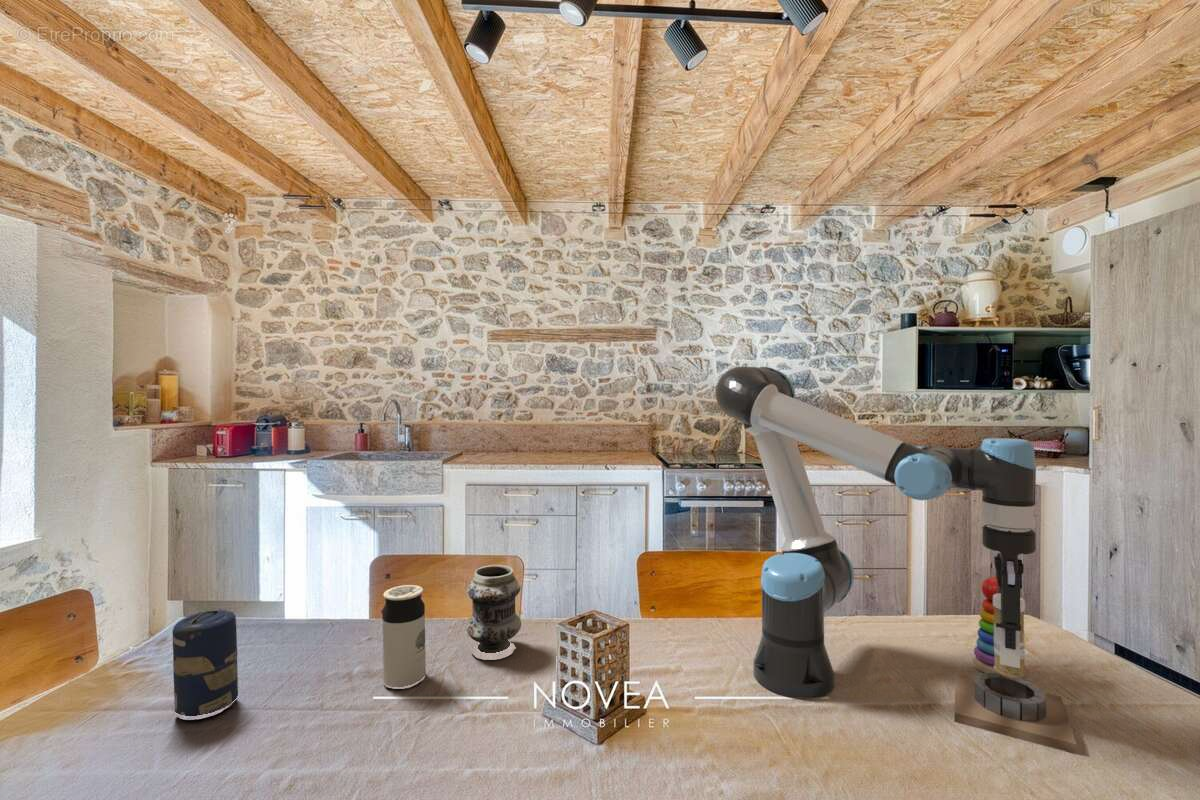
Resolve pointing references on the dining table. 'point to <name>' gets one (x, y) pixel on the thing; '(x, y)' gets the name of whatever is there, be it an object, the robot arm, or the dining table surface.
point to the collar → (1020, 708)
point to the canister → (205, 662)
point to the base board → (1043, 732)
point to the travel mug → (403, 636)
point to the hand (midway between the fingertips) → (1008, 659)
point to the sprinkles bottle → (999, 668)
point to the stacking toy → (986, 629)
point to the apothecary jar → (493, 608)
